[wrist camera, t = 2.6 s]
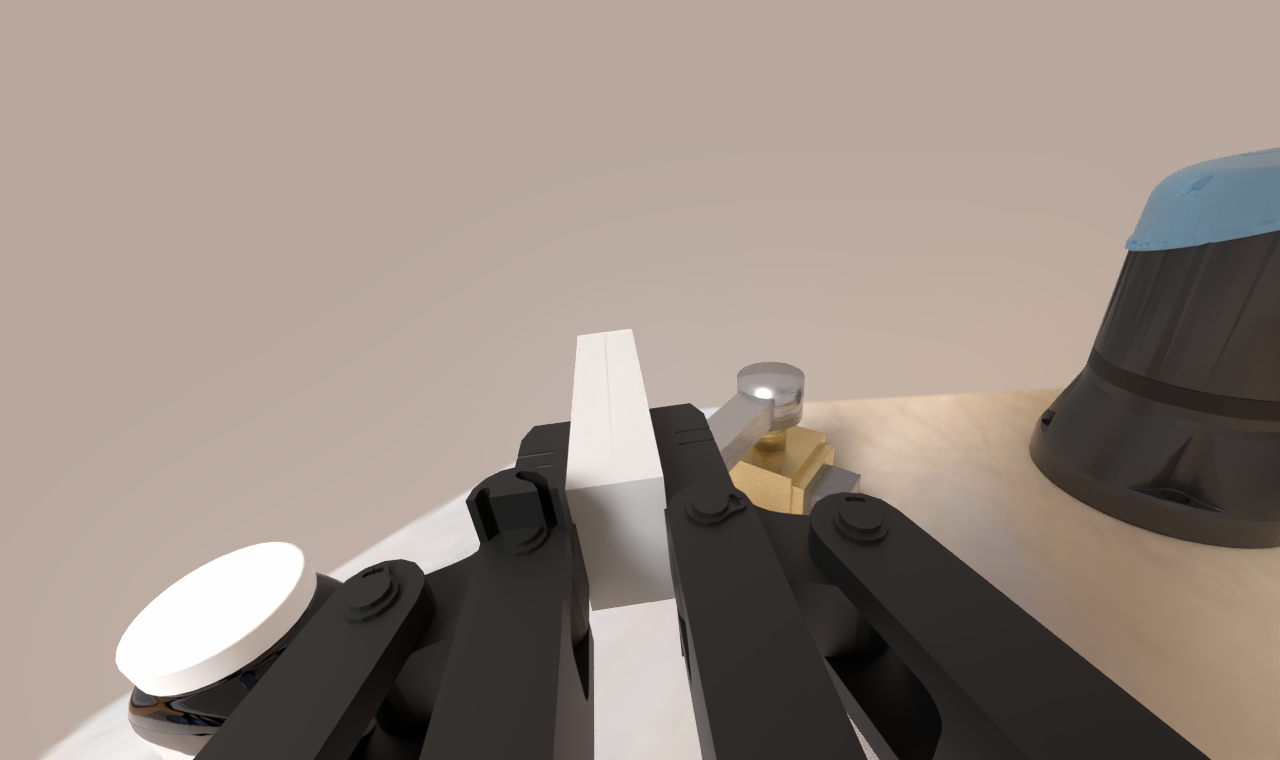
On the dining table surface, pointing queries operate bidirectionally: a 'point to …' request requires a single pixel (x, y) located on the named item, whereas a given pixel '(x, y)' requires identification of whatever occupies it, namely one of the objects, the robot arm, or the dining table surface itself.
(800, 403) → the lever
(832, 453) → the valve body
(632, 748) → the dining table surface
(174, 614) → the spread jar
